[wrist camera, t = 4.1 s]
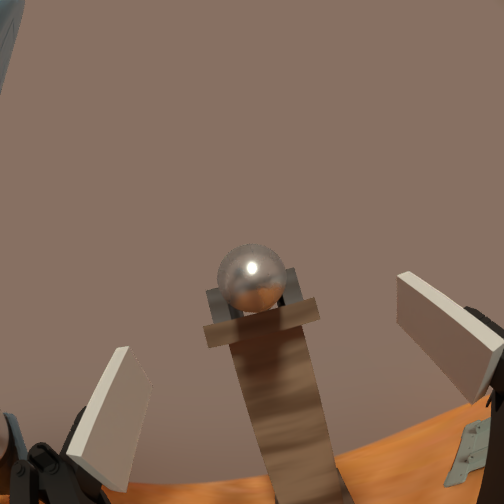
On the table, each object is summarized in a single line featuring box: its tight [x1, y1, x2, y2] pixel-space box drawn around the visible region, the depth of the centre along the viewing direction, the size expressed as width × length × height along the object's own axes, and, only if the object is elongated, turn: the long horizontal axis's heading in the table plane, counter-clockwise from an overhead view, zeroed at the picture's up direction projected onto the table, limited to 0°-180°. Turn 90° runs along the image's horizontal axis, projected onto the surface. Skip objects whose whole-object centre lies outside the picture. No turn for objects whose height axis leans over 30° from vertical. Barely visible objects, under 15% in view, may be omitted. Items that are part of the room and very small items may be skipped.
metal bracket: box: [444, 417, 491, 487], centre depth 17 cm, size 14×6×15 cm
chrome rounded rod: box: [217, 244, 286, 313], centre depth 26 cm, size 20×4×4 cm, turn 177°
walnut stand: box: [203, 268, 354, 504], centre depth 27 cm, size 14×10×33 cm
